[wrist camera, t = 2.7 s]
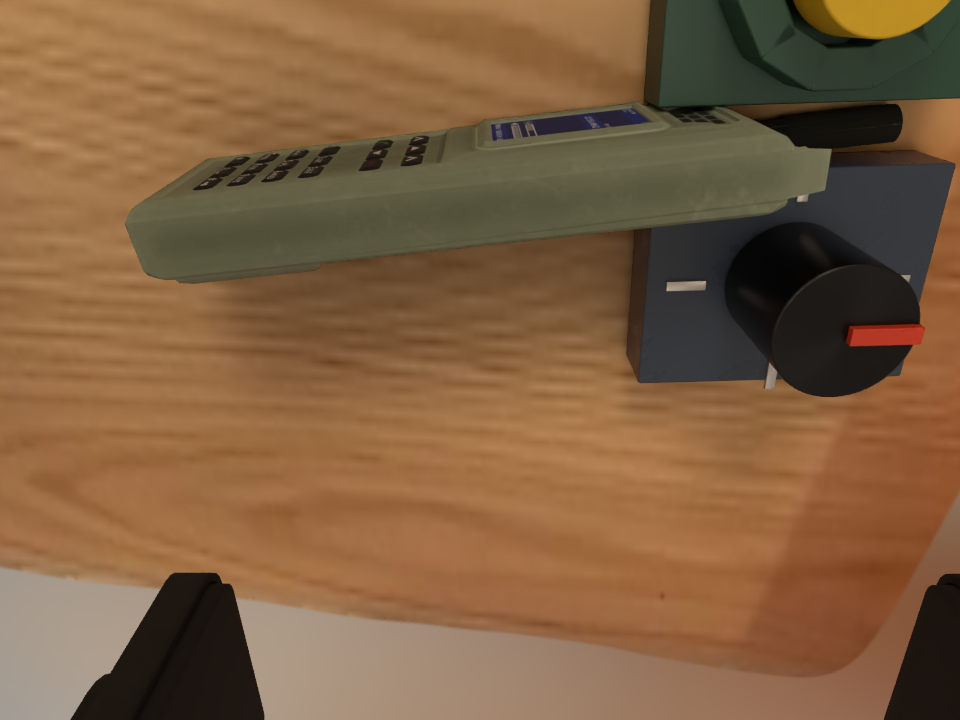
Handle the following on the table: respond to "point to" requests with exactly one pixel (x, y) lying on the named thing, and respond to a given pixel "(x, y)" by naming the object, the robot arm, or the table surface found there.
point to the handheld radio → (488, 186)
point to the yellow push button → (868, 16)
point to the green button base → (790, 57)
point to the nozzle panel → (715, 244)
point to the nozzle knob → (822, 309)
